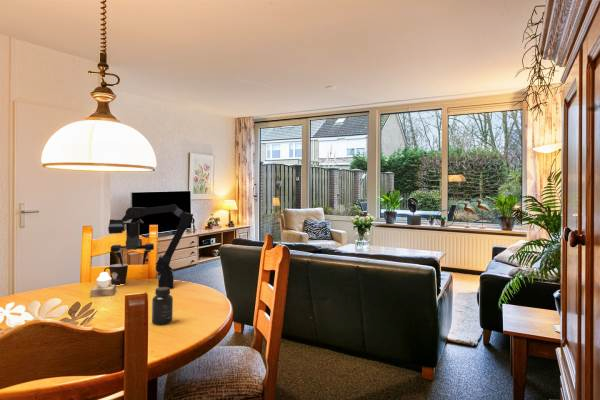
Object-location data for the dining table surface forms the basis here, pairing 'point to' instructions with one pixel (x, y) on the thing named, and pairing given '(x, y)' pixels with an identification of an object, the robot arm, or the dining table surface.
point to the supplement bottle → (162, 306)
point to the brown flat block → (103, 291)
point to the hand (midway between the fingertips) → (133, 265)
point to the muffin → (104, 280)
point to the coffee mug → (118, 273)
